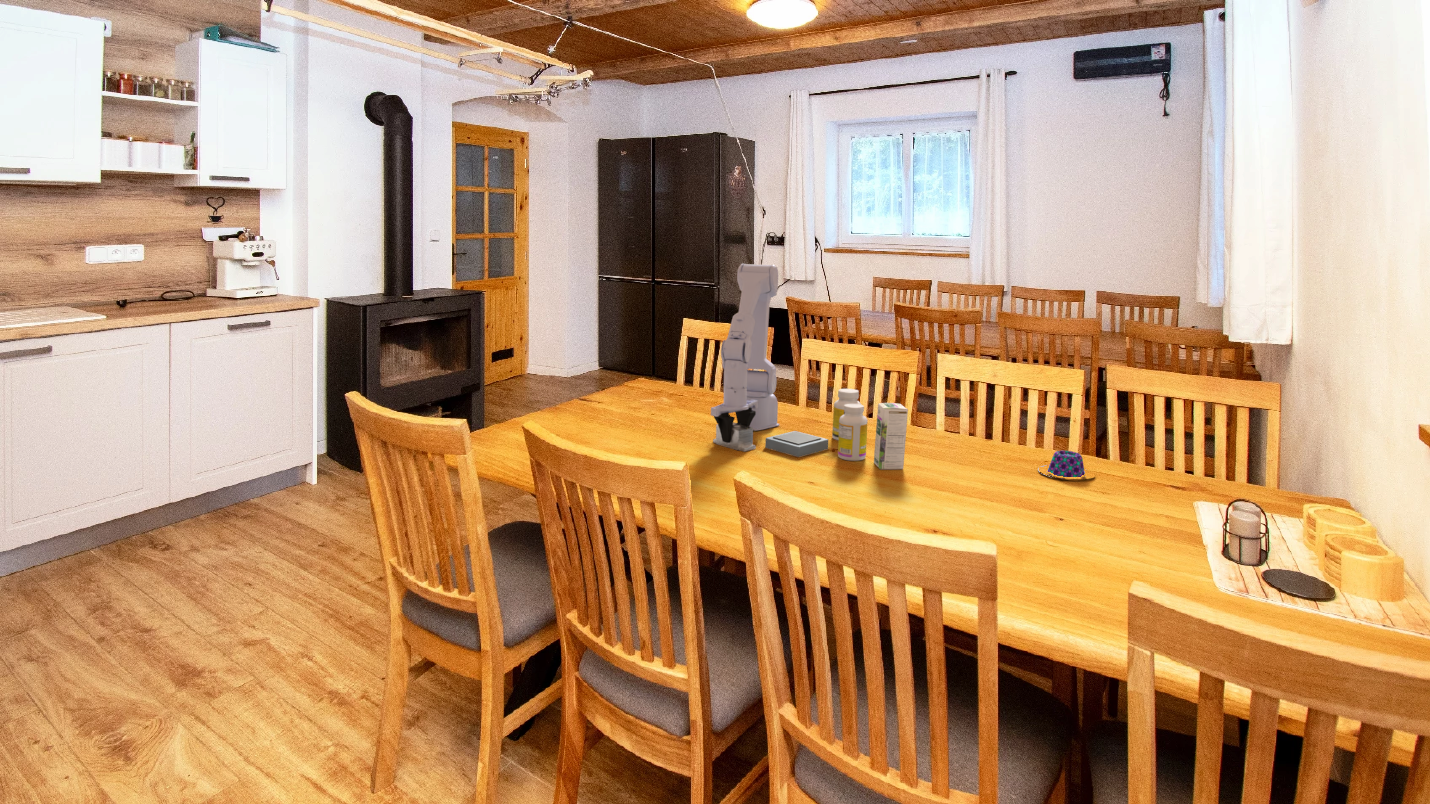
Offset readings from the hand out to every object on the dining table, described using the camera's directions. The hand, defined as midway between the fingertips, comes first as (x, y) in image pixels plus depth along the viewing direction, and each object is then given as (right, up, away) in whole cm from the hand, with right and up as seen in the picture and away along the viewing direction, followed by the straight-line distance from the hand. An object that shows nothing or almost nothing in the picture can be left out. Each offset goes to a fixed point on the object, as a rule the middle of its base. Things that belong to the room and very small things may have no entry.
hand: (734, 440), depth 210 cm
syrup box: (+36, -6, -15) cm, 39 cm away
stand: (+16, -2, -2) cm, 16 cm away
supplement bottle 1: (+29, 0, +8) cm, 30 cm away
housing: (0, -1, 0) cm, 1 cm away
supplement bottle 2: (+28, -4, -9) cm, 30 cm away
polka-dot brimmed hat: (+75, -7, -19) cm, 78 cm away
